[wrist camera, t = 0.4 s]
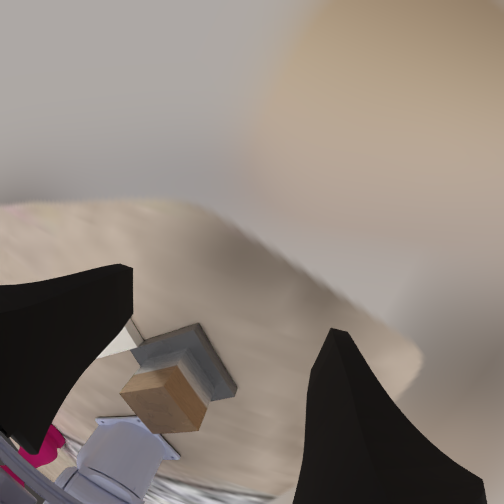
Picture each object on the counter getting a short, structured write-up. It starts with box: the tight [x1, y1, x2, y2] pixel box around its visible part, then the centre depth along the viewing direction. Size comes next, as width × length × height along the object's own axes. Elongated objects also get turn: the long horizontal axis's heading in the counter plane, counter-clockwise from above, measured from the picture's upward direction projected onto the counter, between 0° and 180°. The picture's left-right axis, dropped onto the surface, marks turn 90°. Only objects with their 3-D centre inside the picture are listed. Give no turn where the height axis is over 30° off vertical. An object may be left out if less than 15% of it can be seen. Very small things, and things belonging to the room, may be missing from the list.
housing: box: [119, 348, 215, 434], centre depth 19 cm, size 4×4×5 cm
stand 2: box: [130, 323, 237, 401], centre depth 22 cm, size 7×7×1 cm
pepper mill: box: [0, 424, 65, 487], centre depth 23 cm, size 7×7×20 cm
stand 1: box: [96, 319, 143, 359], centre depth 23 cm, size 7×7×1 cm
